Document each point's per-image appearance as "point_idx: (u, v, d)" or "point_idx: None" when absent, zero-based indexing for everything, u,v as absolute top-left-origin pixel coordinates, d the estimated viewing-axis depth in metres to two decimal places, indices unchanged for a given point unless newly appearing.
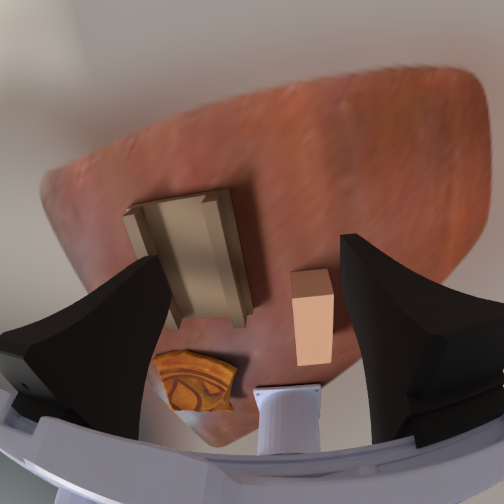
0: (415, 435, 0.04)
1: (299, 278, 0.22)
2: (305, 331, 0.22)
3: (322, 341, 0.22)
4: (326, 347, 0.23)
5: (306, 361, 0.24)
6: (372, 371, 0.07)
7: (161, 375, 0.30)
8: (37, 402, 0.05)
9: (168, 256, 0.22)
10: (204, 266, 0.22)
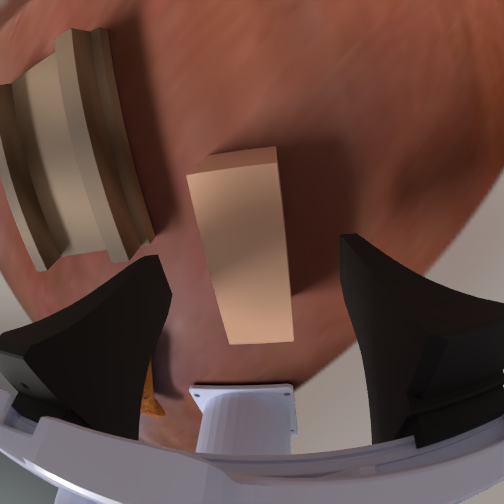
0: (416, 435, 0.04)
1: (218, 157, 0.11)
2: (228, 263, 0.11)
3: (269, 290, 0.11)
4: (280, 304, 0.12)
5: (244, 335, 0.13)
6: (372, 371, 0.07)
7: None
8: (37, 402, 0.05)
9: (32, 149, 0.11)
10: (71, 155, 0.11)
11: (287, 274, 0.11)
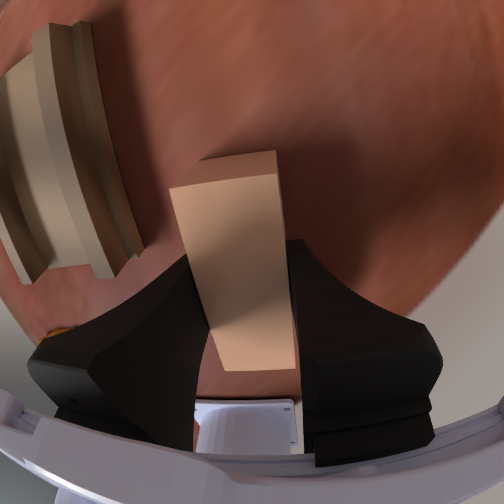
0: (315, 454, 0.04)
1: (208, 164, 0.10)
2: (220, 288, 0.09)
3: (268, 317, 0.10)
4: (280, 332, 0.10)
5: (241, 363, 0.11)
6: None
7: None
8: (87, 419, 0.05)
9: (14, 154, 0.10)
10: (52, 161, 0.10)
11: (289, 301, 0.09)
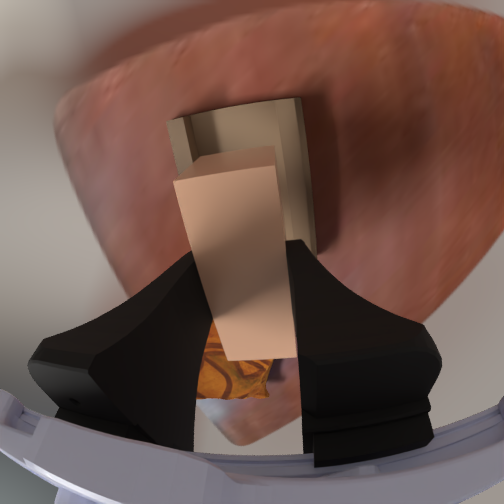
0: (313, 454, 0.04)
1: (210, 159, 0.10)
2: (222, 277, 0.10)
3: (269, 306, 0.10)
4: (281, 320, 0.11)
5: (243, 352, 0.12)
6: None
7: None
8: (88, 419, 0.05)
9: None
10: None
11: (288, 288, 0.10)
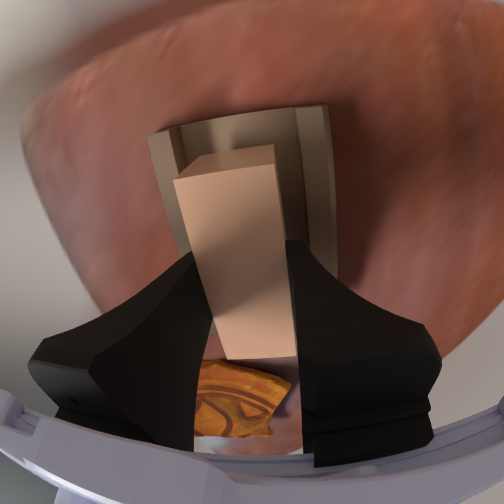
0: (313, 454, 0.04)
1: (210, 158, 0.10)
2: (223, 276, 0.10)
3: (268, 304, 0.10)
4: (281, 319, 0.11)
5: (243, 351, 0.12)
6: None
7: None
8: (88, 419, 0.05)
9: None
10: None
11: (288, 287, 0.10)
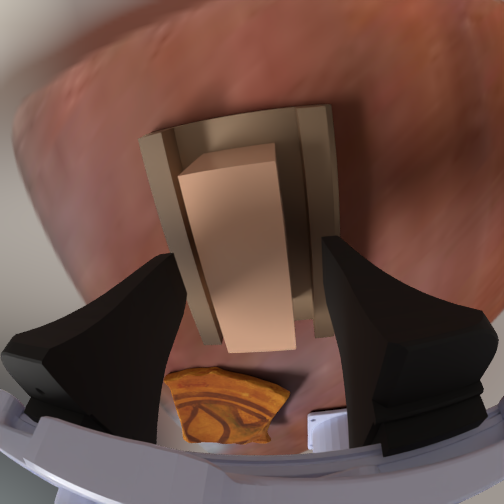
0: (382, 443, 0.04)
1: (213, 156, 0.10)
2: (225, 269, 0.10)
3: (269, 297, 0.11)
4: (281, 312, 0.11)
5: (244, 344, 0.12)
6: (348, 375, 0.07)
7: (175, 400, 0.21)
8: (53, 408, 0.05)
9: None
10: None
11: (288, 280, 0.10)
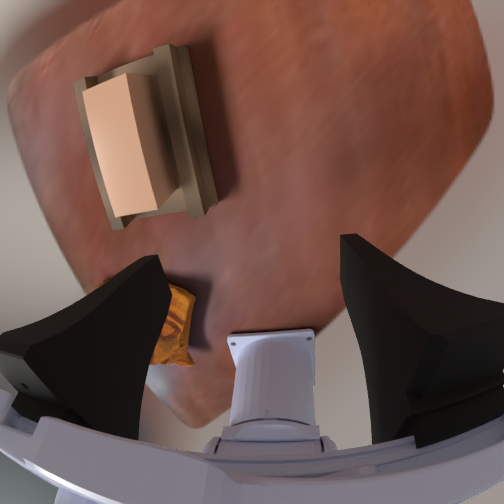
0: (415, 435, 0.04)
1: None
2: (105, 143, 0.14)
3: (131, 161, 0.14)
4: (140, 173, 0.15)
5: (123, 206, 0.16)
6: (372, 371, 0.07)
7: None
8: (37, 402, 0.05)
9: None
10: None
11: (140, 146, 0.14)
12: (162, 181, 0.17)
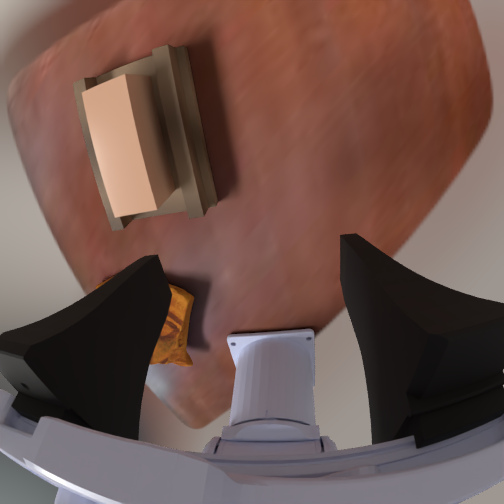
0: (416, 435, 0.04)
1: None
2: (104, 144, 0.14)
3: (130, 161, 0.14)
4: (139, 173, 0.15)
5: (122, 207, 0.16)
6: (372, 371, 0.07)
7: None
8: (37, 402, 0.05)
9: None
10: None
11: (139, 146, 0.14)
12: (161, 181, 0.17)
